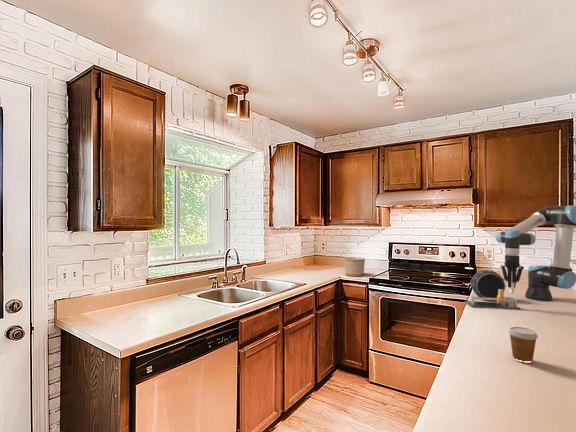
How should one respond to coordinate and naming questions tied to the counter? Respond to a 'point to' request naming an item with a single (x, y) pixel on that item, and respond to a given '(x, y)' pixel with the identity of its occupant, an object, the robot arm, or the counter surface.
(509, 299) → the grey slide rail
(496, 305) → the bolt plate
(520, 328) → the disposable coffee cup
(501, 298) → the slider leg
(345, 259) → the planter
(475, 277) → the studded round pot
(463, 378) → the counter surface
